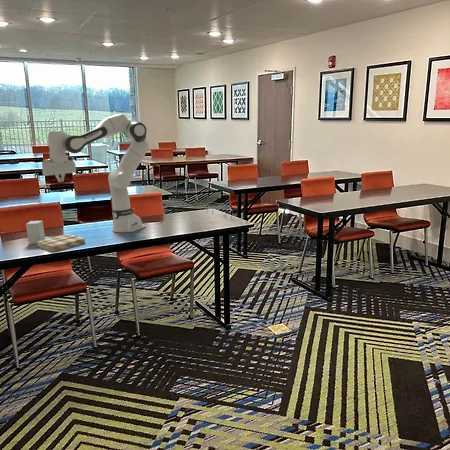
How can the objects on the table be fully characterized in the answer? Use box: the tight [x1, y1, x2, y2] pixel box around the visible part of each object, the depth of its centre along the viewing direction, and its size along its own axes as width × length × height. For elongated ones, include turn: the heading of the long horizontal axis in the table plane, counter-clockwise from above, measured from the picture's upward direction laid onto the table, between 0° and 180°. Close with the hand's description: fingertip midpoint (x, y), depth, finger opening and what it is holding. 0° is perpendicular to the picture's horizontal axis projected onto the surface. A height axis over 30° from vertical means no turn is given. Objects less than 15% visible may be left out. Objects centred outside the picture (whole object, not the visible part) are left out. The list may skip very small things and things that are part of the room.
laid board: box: [45, 235, 86, 252], centre depth 240 cm, size 20×8×3 cm, turn 142°
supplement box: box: [25, 220, 46, 245], centre depth 249 cm, size 7×7×13 cm
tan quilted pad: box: [36, 233, 75, 250], centre depth 246 cm, size 20×9×3 cm, turn 142°
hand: (60, 181), depth 251 cm, fingers closed
